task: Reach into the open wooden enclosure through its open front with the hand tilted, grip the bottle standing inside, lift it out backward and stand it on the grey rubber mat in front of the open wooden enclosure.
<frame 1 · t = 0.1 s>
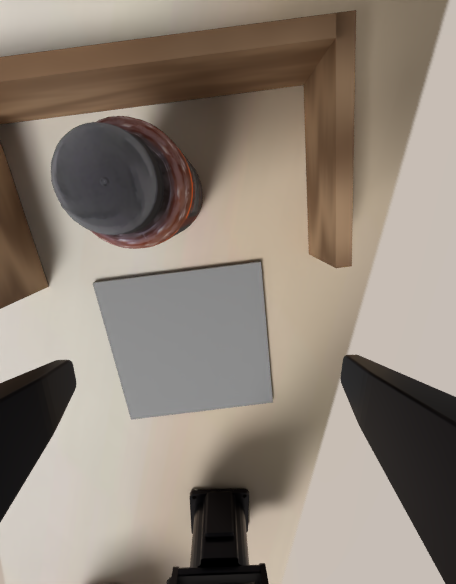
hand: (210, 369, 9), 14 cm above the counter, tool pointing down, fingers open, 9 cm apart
open wooden enclosure: (164, 194, 21), on the counter
mat: (190, 345, 25), on the counter
supplement bottle: (165, 195, 21), on the counter
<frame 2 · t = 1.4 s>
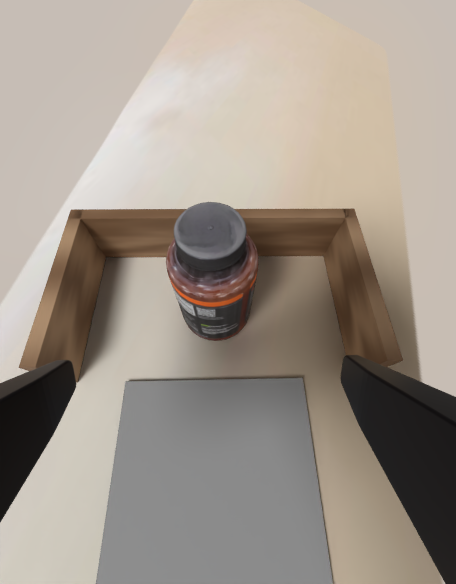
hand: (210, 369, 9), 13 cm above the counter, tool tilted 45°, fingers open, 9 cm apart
open wooden enclosure: (216, 310, 25), on the counter
mat: (215, 486, 18), on the counter
supplement bottle: (216, 312, 25), on the counter
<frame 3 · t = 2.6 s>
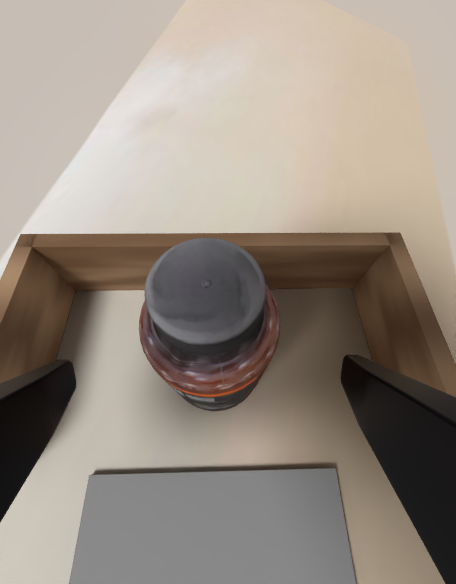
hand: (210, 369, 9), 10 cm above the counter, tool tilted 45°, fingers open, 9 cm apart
open wooden enclosure: (215, 365, 19), on the counter
supplement bottle: (215, 366, 19), on the counter
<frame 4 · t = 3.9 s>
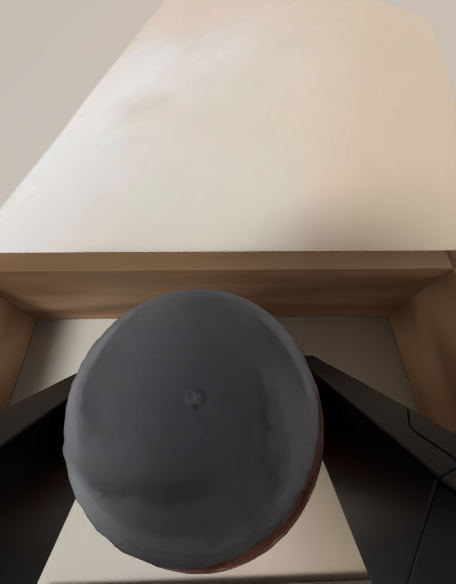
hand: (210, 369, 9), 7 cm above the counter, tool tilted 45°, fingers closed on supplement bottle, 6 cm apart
open wooden enclosure: (215, 423, 14), on the counter
supplement bottle: (215, 423, 14), on the counter, touching gripper
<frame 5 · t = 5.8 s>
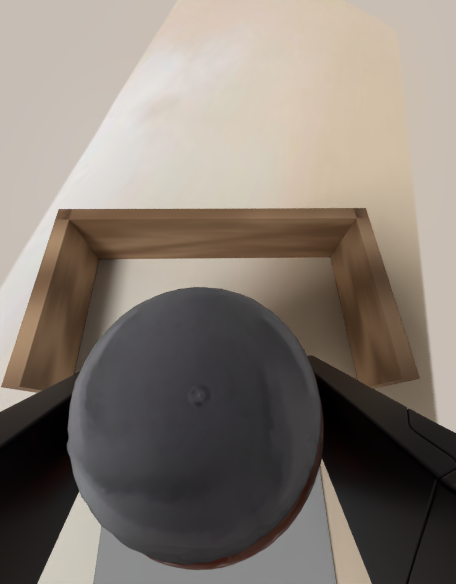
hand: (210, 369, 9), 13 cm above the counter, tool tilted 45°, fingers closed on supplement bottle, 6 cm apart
open wooden enclosure: (216, 317, 23), on the counter
mat: (215, 508, 17), on the counter
supplement bottle: (213, 422, 14), point 6 cm above the counter, touching gripper
when the fingers open (8 cm above the counter, at t = 7.6 s): supplement bottle stays where it is, resting on mat.
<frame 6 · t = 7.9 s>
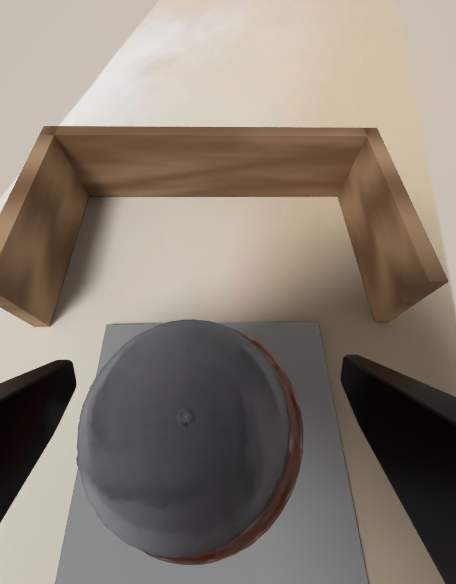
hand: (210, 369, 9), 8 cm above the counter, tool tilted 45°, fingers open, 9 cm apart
open wooden enclosure: (214, 251, 21), on the counter
mat: (213, 444, 15), on the counter
supplement bottle: (211, 428, 15), resting on mat
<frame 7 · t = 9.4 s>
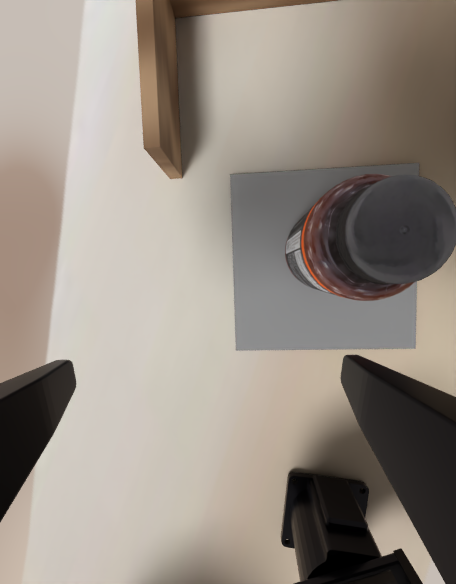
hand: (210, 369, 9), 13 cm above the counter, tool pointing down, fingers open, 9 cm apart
open wooden enclosure: (321, 87, 20), on the counter
mat: (321, 261, 21), on the counter
supplement bottle: (321, 251, 21), resting on mat
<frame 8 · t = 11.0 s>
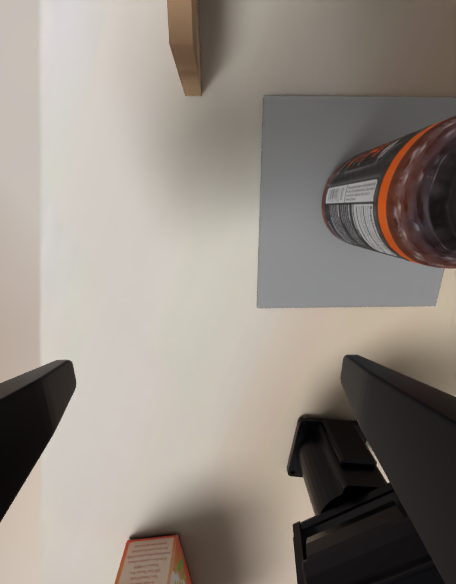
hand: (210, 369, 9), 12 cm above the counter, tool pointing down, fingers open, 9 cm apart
mat: (357, 213, 19), on the counter
supplement bottle: (359, 201, 19), resting on mat
cracker box: (165, 573, 31), on the counter
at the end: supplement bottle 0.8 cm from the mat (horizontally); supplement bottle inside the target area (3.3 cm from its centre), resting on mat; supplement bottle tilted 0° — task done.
